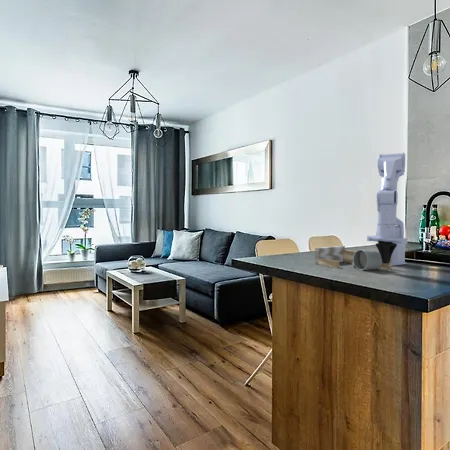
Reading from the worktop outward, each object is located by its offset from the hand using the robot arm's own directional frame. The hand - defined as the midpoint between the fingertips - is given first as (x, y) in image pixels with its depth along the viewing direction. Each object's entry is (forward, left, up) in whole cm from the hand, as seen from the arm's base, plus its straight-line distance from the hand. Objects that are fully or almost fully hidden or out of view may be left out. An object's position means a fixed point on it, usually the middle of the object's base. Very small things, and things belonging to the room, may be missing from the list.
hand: (385, 263), depth 127 cm
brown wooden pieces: (0, -15, -3) cm, 16 cm away
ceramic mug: (0, -9, -4) cm, 10 cm away
